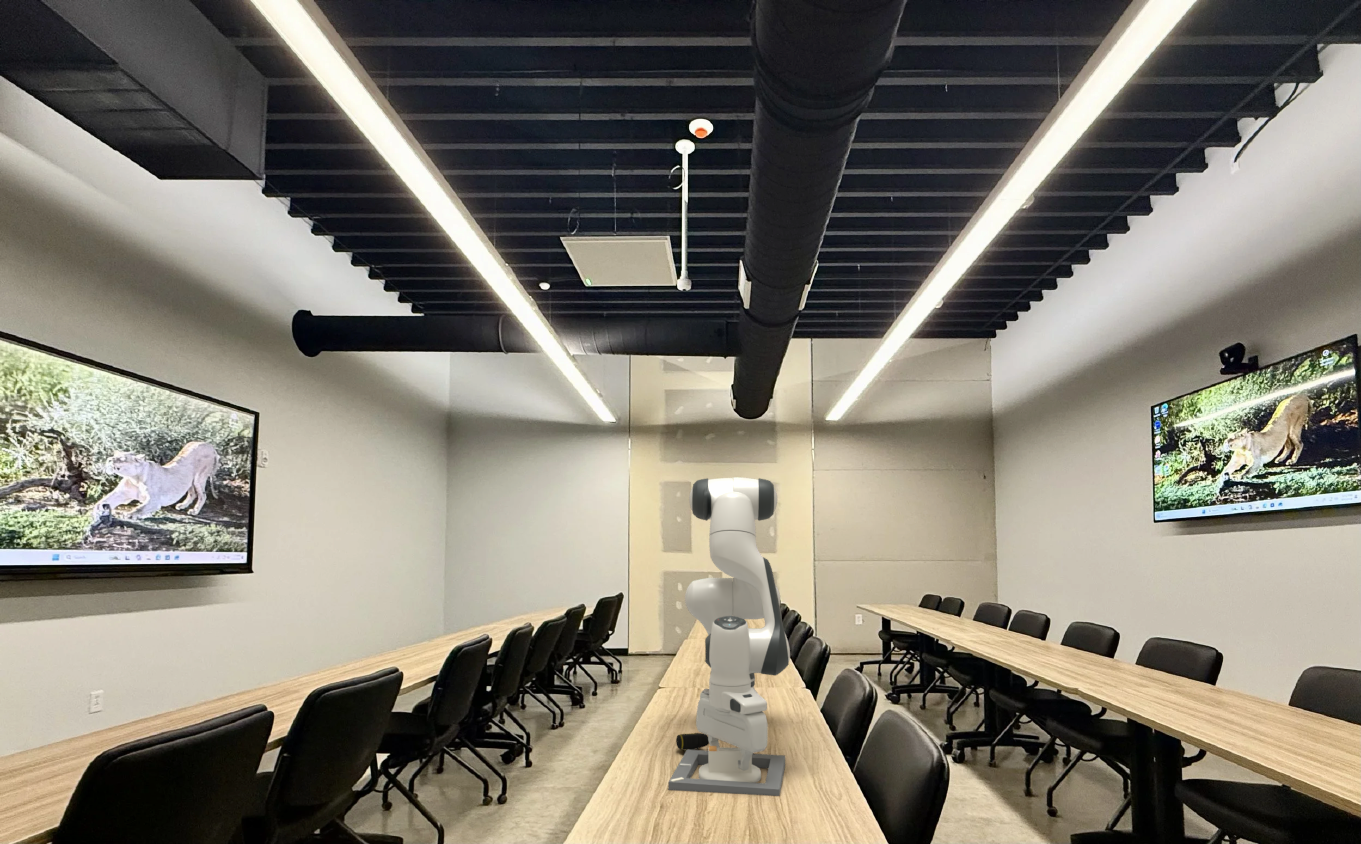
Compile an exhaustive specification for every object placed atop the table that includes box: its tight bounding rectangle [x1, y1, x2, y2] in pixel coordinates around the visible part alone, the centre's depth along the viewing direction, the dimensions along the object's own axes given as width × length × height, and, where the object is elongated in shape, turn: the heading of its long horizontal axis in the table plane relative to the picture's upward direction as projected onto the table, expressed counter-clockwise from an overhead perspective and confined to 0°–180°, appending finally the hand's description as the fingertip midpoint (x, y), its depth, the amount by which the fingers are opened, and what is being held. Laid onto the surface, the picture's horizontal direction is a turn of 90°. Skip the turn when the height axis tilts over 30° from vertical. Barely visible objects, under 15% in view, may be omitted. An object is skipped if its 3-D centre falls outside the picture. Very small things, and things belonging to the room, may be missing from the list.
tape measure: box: [675, 732, 710, 752], centre depth 193 cm, size 7×7×4 cm
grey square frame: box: [667, 749, 786, 797], centre depth 173 cm, size 22×22×3 cm
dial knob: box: [698, 745, 762, 783], centre depth 173 cm, size 13×13×6 cm
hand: (729, 763), depth 173 cm, fingers open, 8 cm apart
